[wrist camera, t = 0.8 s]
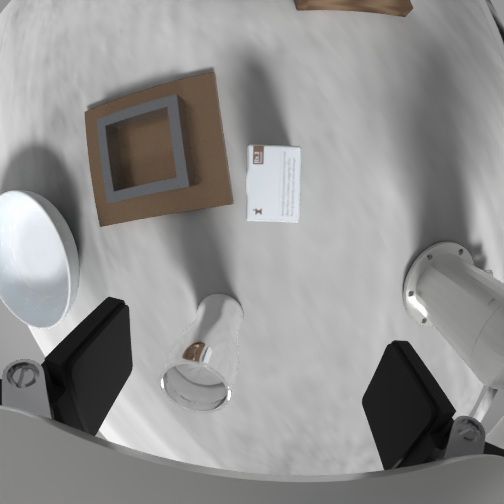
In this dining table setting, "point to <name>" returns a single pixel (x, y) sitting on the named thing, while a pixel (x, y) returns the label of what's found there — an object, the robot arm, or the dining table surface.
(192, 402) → the beer glass
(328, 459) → the dining table surface
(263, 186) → the skincare box
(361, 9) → the square wooden tray
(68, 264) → the serving bowl
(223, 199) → the board with square socket
